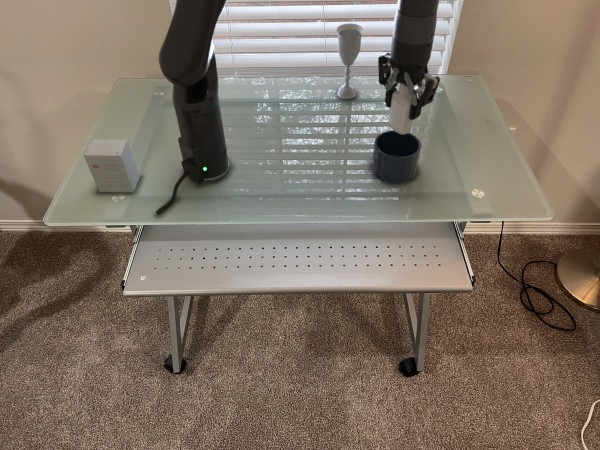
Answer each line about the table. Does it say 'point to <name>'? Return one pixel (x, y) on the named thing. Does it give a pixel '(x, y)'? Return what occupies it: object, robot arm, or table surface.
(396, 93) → the eye dropper bottle
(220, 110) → the robot arm
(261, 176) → the table surface
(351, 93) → the chalice
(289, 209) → the table surface
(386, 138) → the dark blue round container
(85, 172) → the table surface
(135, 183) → the small box
